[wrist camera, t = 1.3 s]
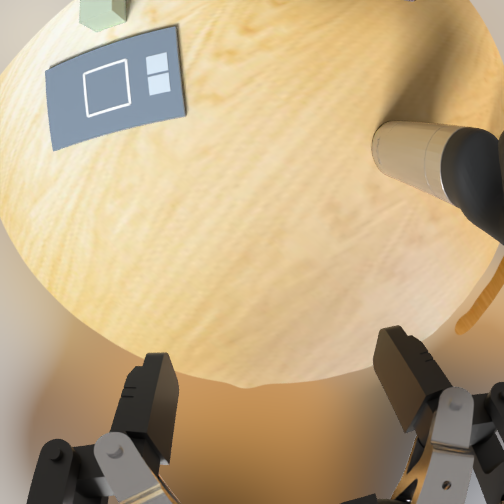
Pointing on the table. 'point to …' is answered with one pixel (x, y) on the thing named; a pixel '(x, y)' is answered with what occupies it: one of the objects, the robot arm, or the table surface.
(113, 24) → the sage block
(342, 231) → the table surface
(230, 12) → the table surface
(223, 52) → the table surface
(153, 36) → the board
